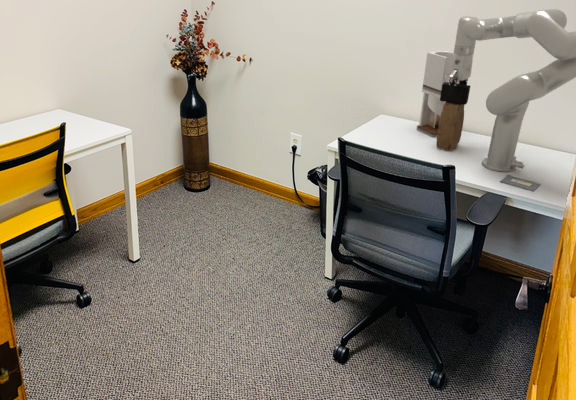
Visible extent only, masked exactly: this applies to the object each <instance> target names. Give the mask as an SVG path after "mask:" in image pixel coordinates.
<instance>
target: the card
mask: <svg viewBox="0 0 576 400" xmlns="http://www.w3.org/2000/svg"><path fill="white" fill-rule="evenodd" d="M499 183H501V184H505V185H509V186H512V187H516V188H520V189H523V190H526V191H530V192H535V191H536V190H537V189H538V188H539V187H540V186H541V185H542V183H540V182H536V181H533V180H532V181H531V180H529V179H524V178H520V177H518V176H515V175H511V174H507V175H505V176H504V177H503V178H502V179H501V180H500V181H499Z"/></svg>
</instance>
